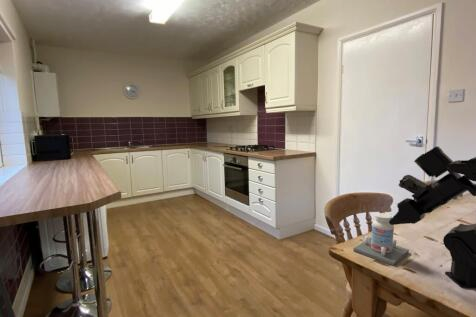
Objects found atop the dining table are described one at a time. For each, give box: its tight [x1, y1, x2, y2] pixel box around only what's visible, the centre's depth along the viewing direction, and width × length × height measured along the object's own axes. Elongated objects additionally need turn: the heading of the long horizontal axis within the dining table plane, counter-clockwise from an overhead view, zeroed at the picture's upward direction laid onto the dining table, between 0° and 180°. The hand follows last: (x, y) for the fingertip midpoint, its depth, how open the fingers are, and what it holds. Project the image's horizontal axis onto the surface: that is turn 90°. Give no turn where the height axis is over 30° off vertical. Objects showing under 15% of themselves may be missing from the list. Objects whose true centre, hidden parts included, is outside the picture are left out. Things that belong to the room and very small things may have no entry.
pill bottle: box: [370, 212, 395, 253], centre depth 86 cm, size 6×6×11 cm
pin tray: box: [352, 235, 410, 267], centre depth 87 cm, size 12×12×4 cm
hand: (396, 219), depth 82 cm, fingers open, 9 cm apart
